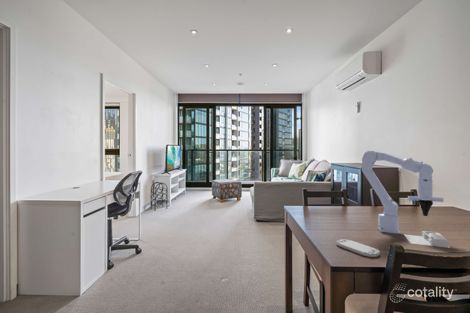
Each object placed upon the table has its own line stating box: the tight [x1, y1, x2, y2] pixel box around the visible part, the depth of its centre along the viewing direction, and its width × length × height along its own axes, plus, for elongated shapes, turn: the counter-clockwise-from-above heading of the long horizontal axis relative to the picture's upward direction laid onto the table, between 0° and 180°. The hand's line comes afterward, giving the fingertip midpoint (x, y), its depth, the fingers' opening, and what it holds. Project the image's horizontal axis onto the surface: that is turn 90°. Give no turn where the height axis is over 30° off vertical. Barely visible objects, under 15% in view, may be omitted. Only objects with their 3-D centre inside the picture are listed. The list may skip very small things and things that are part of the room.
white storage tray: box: [403, 230, 451, 249], centre depth 127 cm, size 15×14×3 cm
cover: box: [425, 232, 448, 241], centre depth 125 cm, size 6×9×1 cm, turn 160°
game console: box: [336, 238, 381, 258], centre depth 116 cm, size 18×2×8 cm
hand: (425, 215), depth 135 cm, fingers closed
